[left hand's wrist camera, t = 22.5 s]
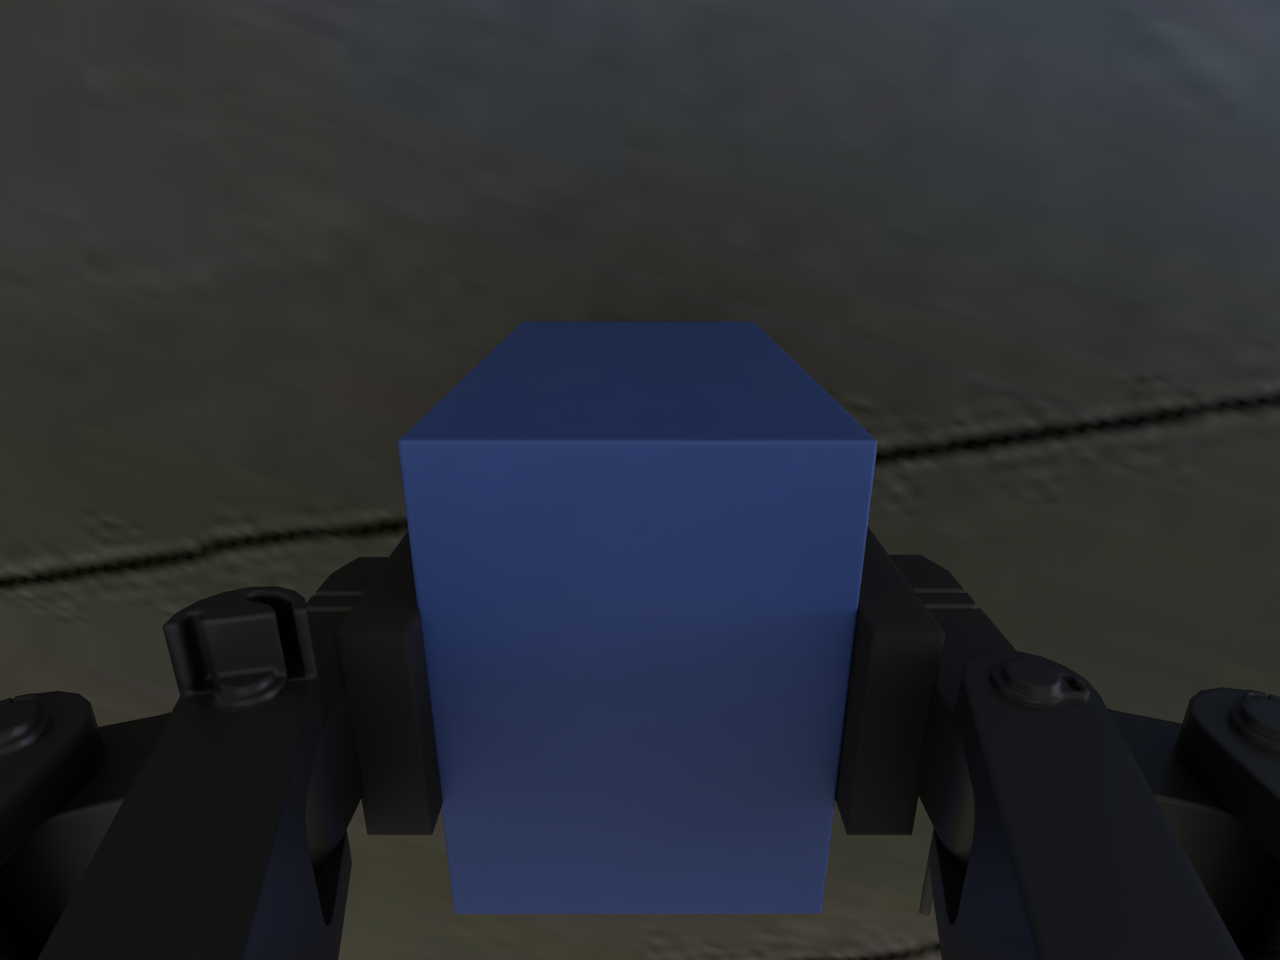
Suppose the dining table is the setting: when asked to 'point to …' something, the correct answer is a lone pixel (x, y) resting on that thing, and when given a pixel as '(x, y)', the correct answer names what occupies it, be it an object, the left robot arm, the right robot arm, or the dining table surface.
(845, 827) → the left robot arm
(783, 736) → the block
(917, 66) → the dining table surface
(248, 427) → the dining table surface
